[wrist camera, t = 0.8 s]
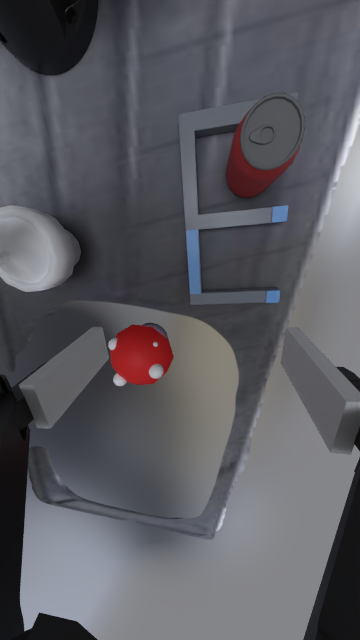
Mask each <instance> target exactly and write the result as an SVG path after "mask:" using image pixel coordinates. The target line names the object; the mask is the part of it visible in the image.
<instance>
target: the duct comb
mask: <svg viewBox="0 0 360 640" xmlns="http://www.w3.org/2000/svg"><path fill="white" fill-rule="evenodd" d="M288 95H290V96H292V97H294V98H295V99H296V100H297V99H298V92H295V93H289V94H288ZM259 100H260V99H257V100H251V101H246V102H241V103H235V104H230V105H224V106H219V107H214V108H208V109H203V110H197V111H192V112H187V113H181V114H178V119H179V134H180V150H181V165H182V181H183V197H184V212H185V228H186V243H187V259H188V275H189V290H190V305H204V304H232V303H260V302H266V303H279V297H280V290H279V289H278V288H276V287H269V288H248V289H226V290H204V291H202V282H201V258H200V234H199V230H205V229H216V228H226V227H237V226H248V225H259V224H270V223H280V222H285V221H287V214H288V205H285V206H276V207H269V208H260V209H250V210H241V211H231V212H221V213H212V214H202V215H199V211H198V187H197V163H196V140H195V138H196V137H202V136H208V135H215V134H221V133H227V132H233V131H236V130H237V127H238V125H239V123H240V122H241V120H242V119H243V118H244V116H245V115H246V114H247V112H248V111H249V110H250V109H251V108H252V107H253V105H254V104H255V103H256V102H258V101H259Z"/></svg>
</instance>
